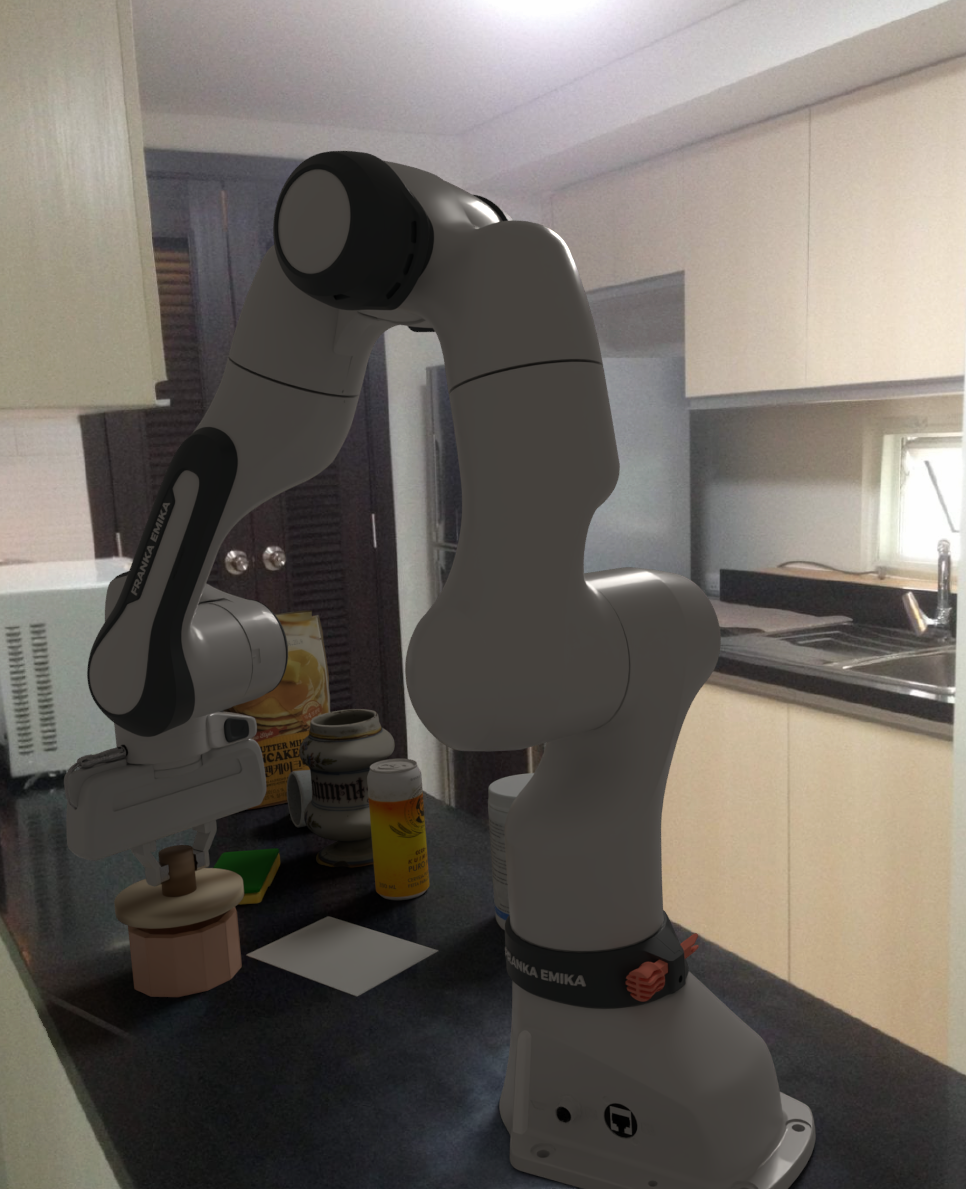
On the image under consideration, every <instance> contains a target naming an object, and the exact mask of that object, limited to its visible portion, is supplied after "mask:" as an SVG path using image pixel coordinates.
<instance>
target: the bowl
mask: <svg viewBox="0 0 966 1189" xmlns="http://www.w3.org/2000/svg"><path fill="white" fill-rule="evenodd" d="M238 921H239V920H238V911H237V908H236V906H235V907H234V908H232V909H231V910H229V911H227V912H225V913H223V914H221V915H219V916H216V917H214V918H211V919H208V920H205V921H202V922H198V923H194V924H190V925H185V926H179V927H171V928H159V929H148V928H136V927H131V926H128V925H127V929H128V930H127V931H128V932H127V933H128V941H129V949H130V959H131V961H130V962H131V968H132V969H131V970H132V979H133V989H134V990H136V991H138V992H140V993H143V994H145V995H146V996H149V997H154V998H156V997H159V998H167V997H168V998H180V997H184V996H185V997H186V996H189V995H190V996H191V995H195V994H198V993H202V992H203V993H204V992H207V991H209V990H212V989H215V988H216V987H218V986H221V985H222V984H224V983H226V982H229V981H230V980H232V979H233V978H234V977H235V975H236V974H237V973H238V972H239V971H240V969H241V968H242V967H243V964H242V954H241V943H240V941H241V940H240V931H239V922H238Z"/></svg>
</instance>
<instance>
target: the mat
mask: <svg viewBox="0 0 966 1189" xmlns="http://www.w3.org/2000/svg"><path fill="white" fill-rule="evenodd" d="M436 953H439V949H436V948H435V949H434V948H431V947H428V946H425V945H422V944H420V943H419V944H418V943H415V942H413V941H409V940H406V939H403V938H399V937H396V936H393V935H390V934H387V933H383V932H380V931H377V930H373V929H370V928H367V927H364V926H361V925H358V924H354V923H352V922H348V921H345V920H342V919H338V918H335V917H332V916H329V915H327V916H326V917H324V918H321V919H319V920H317V921H315V922H313V923H311V924H308V925H307V926H304V927H302V928H300V929H298V930H296V931H294V932H292V933H290V934H287V935H284V936H283V937H281V938H279V939H277V940H275V941H273V942H270V943H269V944H266V945H264V946H262V947H260V948H257V949H255V950H254V951H251V952H249V953H247V954H246V955H245V956H246V957H249V958H251V959H254V960H258V961H259V962H262V963H266V964H268V965H270V966H273V967H276V968H279V969H281V970H283V971H286V972H290V973H292V974H295V975H298V976H300V977H303V978H306V979H307V980H310V981H312V982H313V981H314V982H316V983H319V984H321V985H325V986H326V987H330V988H332V989H335V990H338V991H340V992H343V993H345V994H347V995H351V996H354V997H360V996H361V995H363V994H365V993H366V992H369V991H370V990H372V989H373V988H376V987H378V986H380V985H381V984H382V983H384V982H386V981H388V980H390V979H391V978H393V977H396V976H397V975H399V974H401V973H402V972H404V971H406V970H408V969H409V968H411V967H413V966H415V965H416V964H418V963H420V962H423V961H424V960H426V959H427V958H429V957H431V956H432V955H435V954H436Z"/></svg>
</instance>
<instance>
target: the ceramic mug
mask: <svg viewBox="0 0 966 1189" xmlns="http://www.w3.org/2000/svg"><path fill="white" fill-rule="evenodd" d="M311 800H312V783H311V772H310V770H302V771H293V772H291V773H290V774H289V777H288V781H287V801H288V803H287V807H288V812H289V814H290V818H291V821H292V824H293V825H294V826H295V827H296V828H303V827H307V826H306V823H305V820H304V812H305V809H306V807H307V805H308V804H309V802H310V801H311Z"/></svg>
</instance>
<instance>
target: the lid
mask: <svg viewBox="0 0 966 1189" xmlns="http://www.w3.org/2000/svg"><path fill="white" fill-rule="evenodd" d="M158 862H161V863H165V864H168V867H169V872H168V875H169V877H170V879H169V881H168V882H166V883H163V884H161V885H159V886H155V887H154V886H151V885H148V883H147V882H146V878H144V879H141V880H139V881H136V882H134V883H131V884H130V885H129V886H127V887H125V888H124V889H122V890H121V891H120V892H118V894H117V895H116V896H115V898H114V903H113V904H114V912H115V918H116V919H117V921H118V922H120V923H121V924H123V925H126V926H127V927H128V926H131V927H136V928H148V929H159V928H171V927H179V926H185V925H190V924H194V923H198V922H202V921H205V920H208V919H211V918H214V917H216V916H219V915H221V914H223V913H225V912H227V911H229V910H231V909H232V908H234V907H235V908H236V906H238V904H239V903H240V902H241V900H242V899H243V897H244V886H243V879H242V877H241V876H240V875H239V874H237V873H235V872H232V871H229V870H224V869H217V868H213V867H206V868H203V869H200V870H198V871H195V866H194V855H193V845H192V846H191V845H189V844H177V845H171V846H166V847H165V848H162V849H161V850H159V851H158ZM239 905H240V904H239Z"/></svg>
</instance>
